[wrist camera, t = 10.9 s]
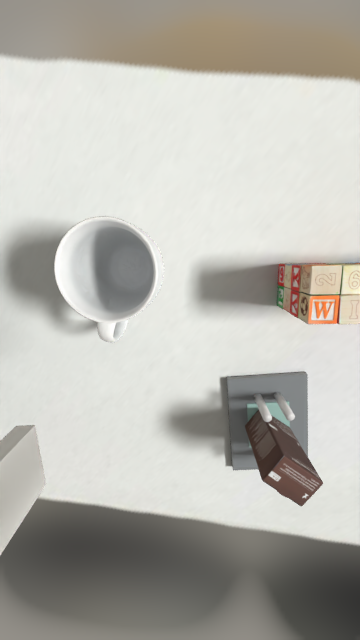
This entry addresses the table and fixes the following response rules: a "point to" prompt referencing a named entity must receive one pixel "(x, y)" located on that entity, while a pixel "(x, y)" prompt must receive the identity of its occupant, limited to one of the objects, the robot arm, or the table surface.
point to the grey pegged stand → (265, 409)
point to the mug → (108, 272)
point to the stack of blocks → (320, 292)
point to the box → (282, 459)
